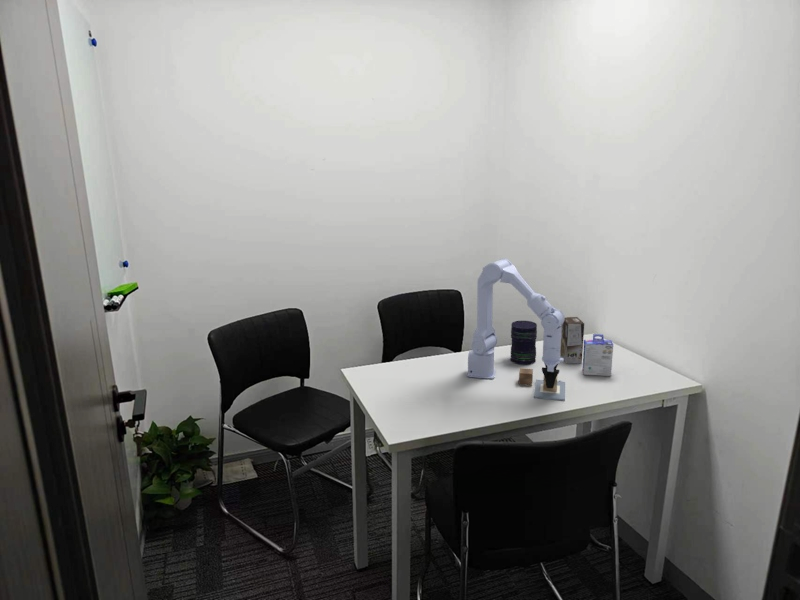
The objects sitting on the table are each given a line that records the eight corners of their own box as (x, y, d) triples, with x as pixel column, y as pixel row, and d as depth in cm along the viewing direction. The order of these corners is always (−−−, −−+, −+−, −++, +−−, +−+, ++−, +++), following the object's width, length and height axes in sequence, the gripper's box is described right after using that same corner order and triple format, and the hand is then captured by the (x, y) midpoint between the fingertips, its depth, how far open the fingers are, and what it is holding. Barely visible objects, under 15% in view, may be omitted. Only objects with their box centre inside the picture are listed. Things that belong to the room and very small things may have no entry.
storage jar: (540, 363, 208) (541, 326, 204) (517, 366, 206) (517, 329, 202) (528, 354, 217) (529, 319, 213) (506, 357, 215) (506, 321, 211)
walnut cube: (518, 384, 190) (519, 373, 189) (519, 379, 194) (520, 368, 193) (531, 385, 189) (532, 374, 187) (532, 380, 193) (532, 369, 192)
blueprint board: (533, 397, 179) (533, 396, 179) (536, 381, 192) (536, 379, 192) (565, 400, 176) (565, 398, 176) (565, 383, 189) (565, 381, 189)
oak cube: (543, 390, 183) (543, 378, 181) (543, 385, 187) (544, 373, 186) (556, 392, 181) (557, 379, 180) (557, 386, 186) (557, 374, 184)
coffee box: (582, 363, 206) (585, 323, 202) (565, 363, 206) (567, 324, 202) (575, 354, 215) (577, 316, 211) (559, 355, 215) (561, 316, 211)
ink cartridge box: (609, 370, 199) (612, 333, 195) (612, 376, 194) (614, 338, 190) (581, 369, 201) (583, 332, 197) (583, 375, 196) (585, 337, 192)
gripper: (564, 354, 172) (562, 393, 176) (564, 339, 185) (562, 375, 189) (541, 352, 174) (540, 391, 178) (543, 338, 187) (541, 374, 191)
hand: (550, 383), depth 184 cm, fingers open, 7 cm apart
